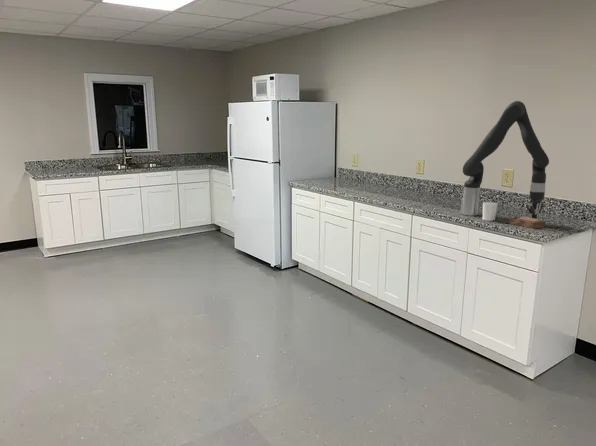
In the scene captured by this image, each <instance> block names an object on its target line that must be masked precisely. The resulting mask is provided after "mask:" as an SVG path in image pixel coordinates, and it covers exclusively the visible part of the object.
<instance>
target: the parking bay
mask: <svg viewBox="0 0 596 446" xmlns="http://www.w3.org/2000/svg"><path fill="white" fill-rule="evenodd" d="M520 217H521V216H514V217H510V218H509V220H508V224H509V225H510V224H511V225H514V224H515V225H514V226H519V225H520V226H519V227H523V226H524V227H523V228H528V227H529V228H530V229H533V228H535V229H539V228H540V229H541V228H544V227H546V220H543V221H542V220H541V222H536V223H532V222H527V221H522V220H518V219H517V218H520Z"/></svg>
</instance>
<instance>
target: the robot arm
mask: <svg viewBox="0 0 596 446" xmlns="http://www.w3.org/2000/svg"><path fill="white" fill-rule="evenodd" d="M515 123H516V124H517V125H518V129H519V130H520V136H521V139H522V142H523V144H524V146H525V149H526V151H527V152H528V153H529V154H530V155H531V158H532V162H531V163H532V167H531V169H532V170H531V171H532V173H531V181H530V186H529V194H528V195H529V199H530V202H529V203H530V204H527V206H526V207H527V211H528V212H529V214H531V218H535V219H538V215H539V214H540V213H541V212H542V210H543V208H544V206H545V204H544V203H542V202H543V200H544V199H545V194H546V180H547V173H546V168H547V167H548V165H549V164H550V159H549V157H548V155H547V153H546V152H545V150H544V149H543V147H542V145H541V143H540V140H539V139H538V136H537V135H536V132H535V130H534V129H533V126H532V123H531V121H530V117H529V115H528V112H527V107H526V105H525V103H524V102H522V101H520V100H515V101H513V102H511V103H509V104H508V105H507V106H506V107H505V109H504V110H503V112H502V114H501V116H500V117H499V119H498V121H497V122H496V123H495V124H494V125H493V126H492V128H491V129H490V130H489V132H488V133H487V134H486V135H485V137H484V139H483V140H482V141H481V143H480V144H479V145H478V147H477V149H476V150H475V151H474V152H473V153H472V155H471V156H470V157H469V158H468V159H467V160H466V162H465V163H464V165H463V166H462V173H463V175H464V176H466V177H469V178H468V180H466V181H465V182H464V183H463V184H464V185H463V196H462V198H461V201H460V214H462V215H465V216H477V215H478V214H479V213H478V211H479V204H480V203H479V200H480V191H481V185H482V182H483V178H484V172H485V171H484V164H483V161H484V160H485V159H486V158H488V157H489V156H490V155H492V154H493V153H494V152H495V151H497V149H499V147H500V145H501V144H502V143H503V142H504V139H505V138H506V135H507V133H508V132H509V130H510V128H511V127H512V126H513V125H514V124H515Z"/></svg>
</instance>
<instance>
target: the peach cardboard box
mask: <svg viewBox="0 0 596 446" xmlns="http://www.w3.org/2000/svg"><path fill="white" fill-rule="evenodd" d="M519 217H520V218H517V219H518V220H522V221H527V222H532V223H536V222H541V221H542V219H540V218H537V219H535V218H532V217H529V216H519Z"/></svg>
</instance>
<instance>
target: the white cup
mask: <svg viewBox="0 0 596 446" xmlns="http://www.w3.org/2000/svg"><path fill="white" fill-rule="evenodd" d="M497 209H498V203H497V202H493V201H484V202H483V201H482V220H483V221H486V222H487V221H488V222H493V220H494V221H495V220H496V215H497Z"/></svg>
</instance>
